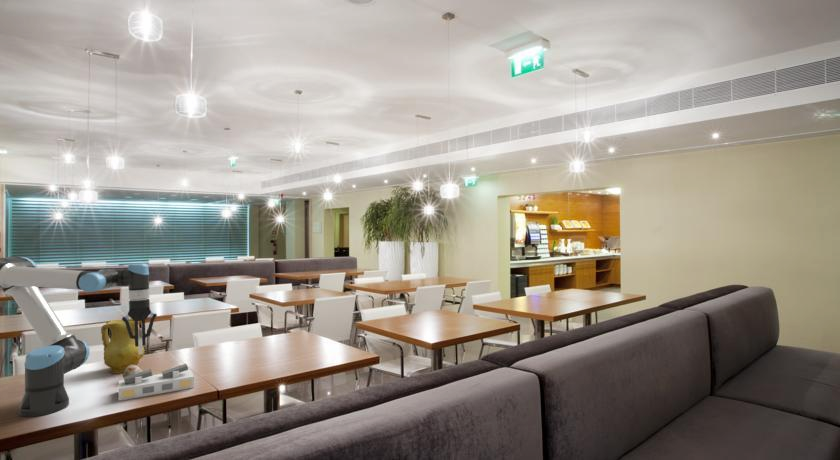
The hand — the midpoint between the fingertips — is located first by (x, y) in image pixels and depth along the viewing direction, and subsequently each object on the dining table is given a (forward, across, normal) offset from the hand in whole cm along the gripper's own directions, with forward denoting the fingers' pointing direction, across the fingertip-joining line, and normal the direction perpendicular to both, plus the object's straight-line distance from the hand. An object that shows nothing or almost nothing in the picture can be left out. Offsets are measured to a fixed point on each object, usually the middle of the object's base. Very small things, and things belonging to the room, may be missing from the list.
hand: (140, 353), depth 189 cm
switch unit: (+17, +6, +1) cm, 18 cm away
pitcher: (+17, -7, +43) cm, 46 cm away
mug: (+17, -2, +20) cm, 27 cm away
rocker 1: (+10, -1, +1) cm, 10 cm away
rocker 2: (+10, +13, +1) cm, 17 cm away
